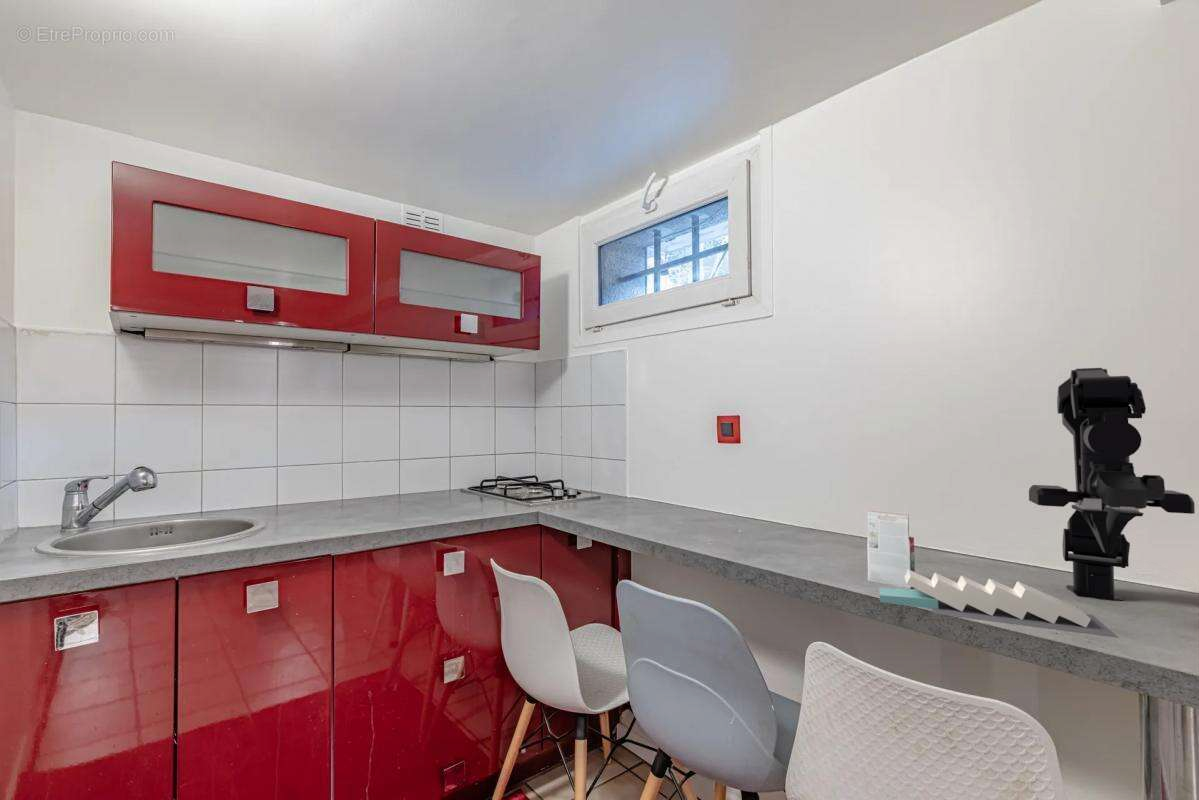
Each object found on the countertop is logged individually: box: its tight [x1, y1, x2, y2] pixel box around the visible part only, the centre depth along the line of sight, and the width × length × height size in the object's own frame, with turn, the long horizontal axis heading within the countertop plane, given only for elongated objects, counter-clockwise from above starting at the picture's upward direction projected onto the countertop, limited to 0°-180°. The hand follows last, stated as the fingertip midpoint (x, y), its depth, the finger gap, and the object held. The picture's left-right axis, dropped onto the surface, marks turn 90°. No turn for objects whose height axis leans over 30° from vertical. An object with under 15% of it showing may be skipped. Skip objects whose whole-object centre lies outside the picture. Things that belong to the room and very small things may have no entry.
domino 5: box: [984, 578, 1059, 624], centre depth 92 cm, size 2×5×9 cm
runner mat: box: [931, 600, 1120, 639], centre depth 92 cm, size 10×24×1 cm, turn 65°
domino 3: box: [930, 572, 996, 616], centre depth 95 cm, size 2×5×9 cm
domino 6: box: [1012, 580, 1091, 627], centre depth 90 cm, size 2×5×9 cm
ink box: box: [866, 510, 916, 590], centre depth 109 cm, size 4×8×15 cm, turn 47°
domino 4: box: [957, 574, 1027, 620], centre depth 93 cm, size 2×5×9 cm
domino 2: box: [905, 569, 966, 611], centre depth 97 cm, size 2×5×9 cm
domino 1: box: [878, 587, 939, 610], centre depth 99 cm, size 2×5×9 cm
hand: (1107, 552), depth 87 cm, fingers closed
